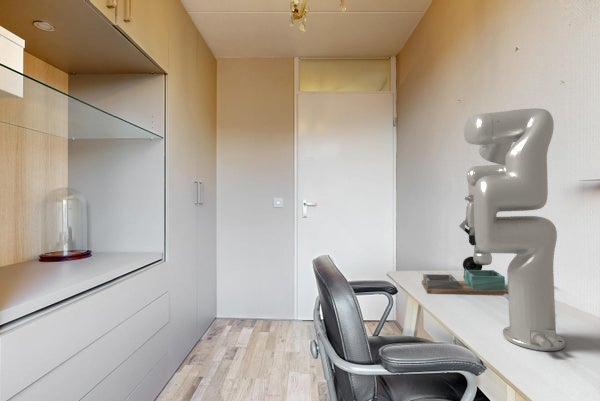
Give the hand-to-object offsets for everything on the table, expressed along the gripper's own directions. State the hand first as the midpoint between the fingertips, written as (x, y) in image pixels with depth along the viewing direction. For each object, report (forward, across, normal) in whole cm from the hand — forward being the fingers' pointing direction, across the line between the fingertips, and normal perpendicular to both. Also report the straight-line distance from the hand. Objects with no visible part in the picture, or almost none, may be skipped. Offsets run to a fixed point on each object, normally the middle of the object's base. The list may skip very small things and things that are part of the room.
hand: (481, 244), depth 123 cm
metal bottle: (+8, 0, 0) cm, 8 cm away
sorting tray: (+18, -8, 0) cm, 19 cm away
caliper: (+18, +5, -18) cm, 26 cm away
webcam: (+18, +1, +17) cm, 25 cm away
